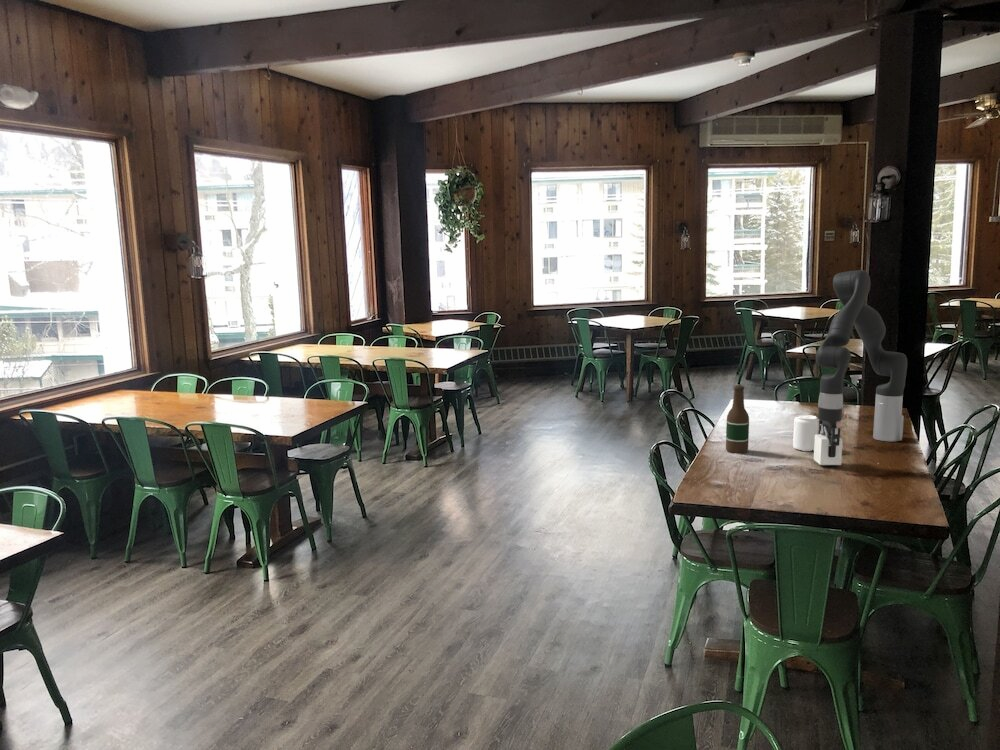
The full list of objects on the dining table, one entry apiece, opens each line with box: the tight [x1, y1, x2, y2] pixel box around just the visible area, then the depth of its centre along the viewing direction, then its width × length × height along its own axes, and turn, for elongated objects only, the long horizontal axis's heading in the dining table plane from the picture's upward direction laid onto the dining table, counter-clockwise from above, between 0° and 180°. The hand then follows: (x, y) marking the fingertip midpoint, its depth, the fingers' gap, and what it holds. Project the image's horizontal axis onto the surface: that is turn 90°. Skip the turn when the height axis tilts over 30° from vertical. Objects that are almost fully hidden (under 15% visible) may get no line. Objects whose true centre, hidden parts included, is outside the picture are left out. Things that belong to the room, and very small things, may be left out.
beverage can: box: [792, 414, 819, 452], centre depth 293 cm, size 8×8×12 cm
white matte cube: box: [813, 433, 843, 466], centre depth 272 cm, size 7×7×9 cm
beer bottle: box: [725, 385, 750, 454], centre depth 290 cm, size 8×8×24 cm
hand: (827, 453), depth 273 cm, fingers closed on white matte cube, 7 cm apart
